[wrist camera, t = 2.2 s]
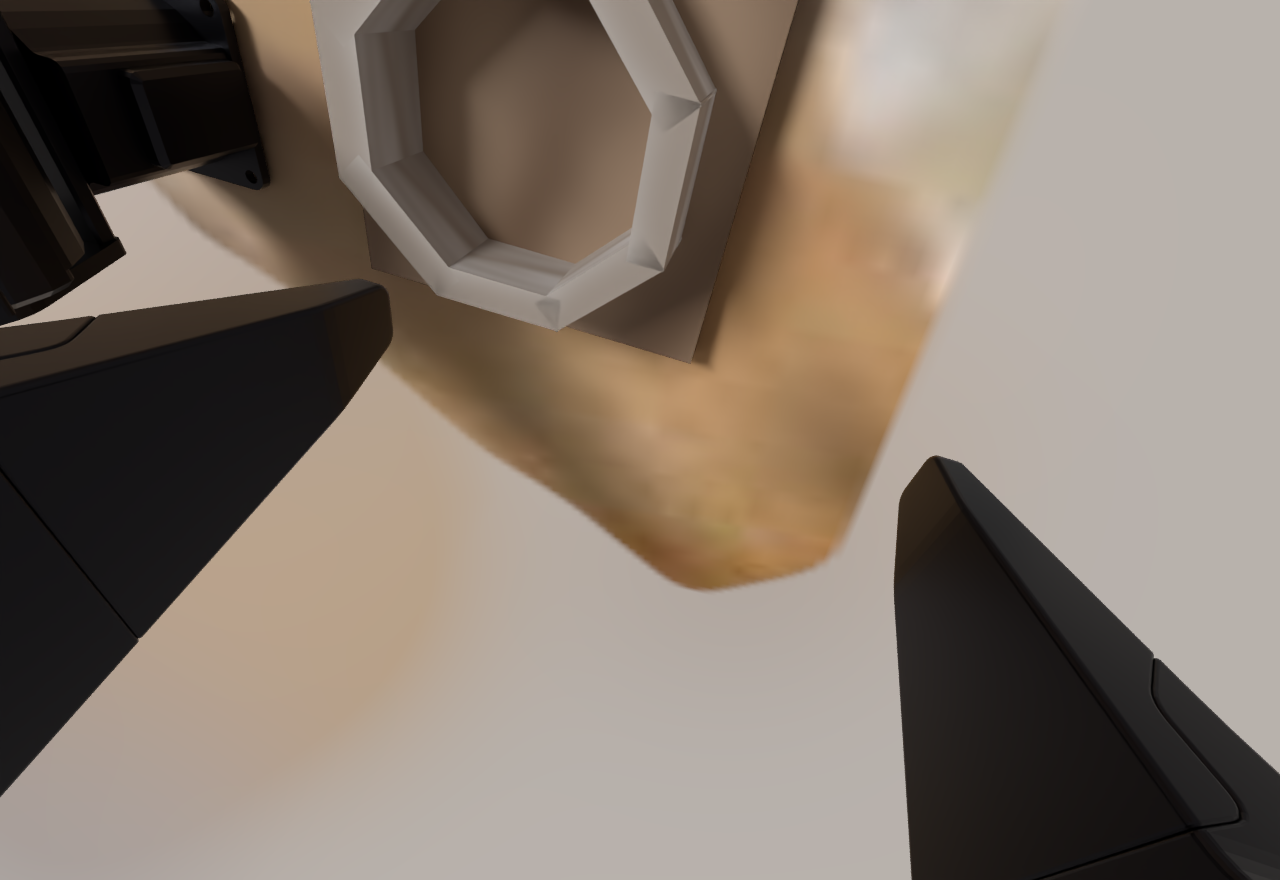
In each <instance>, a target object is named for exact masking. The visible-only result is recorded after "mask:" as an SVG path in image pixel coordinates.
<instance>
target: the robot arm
mask: <svg viewBox="0 0 1280 880" xmlns="http://www.w3.org/2000/svg"><path fill="white" fill-rule="evenodd" d="M209 2H210V4H211V5H212V7H213V10H214V13H213V12H212V10H211V8H210V5H209ZM186 170H189V171H193V172H196V173H199V174H203V175H206V176H210V177H213V178H216V179H220V180H223V181H227V182H230V183H233V184H237V185H240V186H244V187H247V188H250V189H254V190H260V189H263V188H266V187H268V186H269V184H270V176H269V172H268V168H267V164H266V160H265V156H264V152H263V147H262V143H261V139H260V135H259V131H258V127H257V123H256V119H255V115H254V110H253V106H252V102H251V98H250V94H249V90H248V86H247V82H246V78H245V73H244V69H243V65H242V61H241V57H240V53H239V49H238V45H237V41H236V36H235V32H234V28H233V24H232V20H231V16H230V12H229V9H228V6H227V4H226V2H225V1H224V0H0V326H1V325H4V324H8V323H11V322H14V321H18V320H20V319H23V318H25V317H28V316H30V315H33V314H35V313H37V312H39V311H41V310H43V309H44V308H46V307H48V306H50V305H51V304H53V303H54V302H55V301H57V300H58V299H60V298H61V297H63V296H64V295H66V294H67V293H69V292H70V291H72V290H73V289H75V288H76V287H78V286H79V285H81V284H82V283H84V282H85V281H87V280H88V279H90V278H91V277H93V276H94V275H96V274H97V273H99V272H100V271H101V270H103V269H105V268H106V267H108V266H109V265H111V264H112V263H114V262H115V261H117V260H118V259H119V258H121V257H123V256H124V255H126V251H125V249H124V247H123V245H122V243H121V241H120V239H119V238H118V237H115V236H114V234H113V232H112V230H111V228H110V226H109V224H108V222H107V220H106V218H105V217H104V214H103V212H102V210H101V209H100V206H99V204H98V202H97V200H96V198H95V197H94V195H98V194H101V193H105V192H109V191H112V190H116V189H119V188H123V187H127V186H131V185H134V184H138V183H142V182H146V181H149V180H153V179H157V178H160V177H164V176H168V175H171V174H175V173H179V172H182V171H186ZM253 173H254V174H255V175H256V177H257V178H256V177H255V176H254V174H253ZM392 337H393V325H392V317H391V308H390V300H389V294H388V292H387V290H386V288H385V287H384V286H382V285H380V284H377V283H373V282H370V281H367V280H363V279H353V280H346V281H339V282H332V283H325V284H318V285H310V286H303V287H296V288H289V289H282V290H274V291H268V292H260V293H254V294H246V295H239V296H231V297H224V298H217V299H210V300H203V301H196V302H188V303H182V304H174V305H168V306H160V307H153V308H146V309H138V310H132V311H124V312H117V313H110V314H102V315H99V316H98V317H96V318H95V317H93V316H87V317H80V318H73V319H66V320H59V321H51V322H43V323H35V324H28V325H20V326H12V327H4V328H0V797H1V796H2V795H3V794H4V792H5V791H6V790H7V789H8V788H9V787H10V786H11V785H12V783H13V782H14V781H15V780H16V779H17V778H18V777H19V776H20V774H21V773H22V772H23V771H24V770H25V769H26V768H27V767H28V765H29V764H30V763H31V762H32V761H33V760H34V759H35V757H36V756H37V755H38V754H39V753H40V752H41V751H42V750H43V749H44V747H45V746H46V745H47V744H48V743H49V741H51V740H52V738H53V737H54V736H55V735H56V734H57V733H58V732H59V730H60V729H61V728H62V727H63V726H64V725H65V724H66V723H67V722H68V720H69V719H70V718H71V717H72V716H73V715H74V714H75V712H76V711H77V710H78V709H79V708H80V707H81V706H82V705H83V703H84V702H85V701H86V700H87V699H88V698H89V697H90V696H91V694H92V693H93V692H94V691H95V690H96V689H97V688H98V687H99V685H100V684H101V683H102V682H103V681H104V680H105V679H106V678H107V676H108V675H109V674H110V673H111V672H112V671H113V670H114V669H115V667H116V666H117V665H118V664H119V663H120V662H121V661H122V660H123V658H124V657H125V656H126V655H127V654H128V653H129V652H130V651H131V649H132V648H133V647H134V646H135V645H136V644H137V643H138V638H141V637H143V635H144V634H145V633H146V632H147V631H148V630H149V628H151V626H152V625H153V624H154V623H155V622H156V621H157V620H158V619H159V617H160V616H161V615H162V614H163V613H164V612H165V611H166V609H167V608H168V607H169V606H170V605H171V604H172V603H173V602H174V601H175V599H176V598H177V597H178V596H179V595H180V594H181V593H182V592H183V590H184V589H185V588H186V587H187V586H188V585H189V584H190V583H191V581H192V580H193V579H194V578H195V577H196V576H197V575H198V574H199V572H200V571H201V570H202V569H203V568H204V567H205V566H206V565H207V563H208V562H209V561H210V560H211V559H212V558H213V557H214V555H215V554H216V553H217V552H218V551H219V550H220V549H221V548H222V547H223V545H224V544H225V543H226V542H227V541H228V540H229V539H230V538H231V537H232V535H233V534H234V533H235V532H236V531H237V530H238V529H239V527H240V526H241V525H242V524H243V523H244V522H245V521H246V520H247V518H248V517H249V516H250V515H251V514H252V513H253V512H254V511H255V509H256V508H257V507H258V506H259V505H260V504H261V503H262V502H263V501H264V499H265V498H266V497H267V496H268V495H269V494H270V493H271V492H272V490H273V489H274V488H275V487H276V486H277V485H278V484H279V483H280V481H281V480H282V479H283V478H284V477H285V476H286V475H287V474H288V472H289V471H290V470H291V469H292V468H293V467H294V466H295V465H296V463H297V462H298V461H299V460H300V459H301V458H302V457H303V456H304V454H305V453H306V452H307V451H308V450H309V449H310V448H311V447H312V445H313V444H314V443H315V442H316V441H317V440H318V439H319V438H320V436H321V435H322V434H323V433H324V432H325V431H326V430H327V428H328V427H329V426H330V425H331V424H332V423H333V422H334V421H335V420H336V418H337V417H338V416H339V415H340V414H341V412H342V411H343V410H344V409H345V407H346V406H347V405H348V403H349V402H350V401H351V399H352V398H353V397H354V395H355V394H356V392H357V391H358V389H359V388H360V387H361V385H362V384H363V382H364V381H365V379H366V378H367V377H368V375H369V374H370V372H371V370H372V369H373V368H374V366H375V365H376V364H377V362H378V361H379V359H380V358H381V356H382V355H383V354H384V352H385V351H386V349H387V348H388V346H389V345H390V343H391V340H392ZM894 604H895V620H896V636H897V653H898V669H899V685H900V699H901V700H900V701H901V714H902V715H901V717H902V732H903V748H904V765H905V781H906V797H907V812H908V828H909V845H910V861H911V876H912V880H1280V774H1279V773H1278V772H1277V771H1276V770H1275V769H1274V768H1273V767H1272V766H1270V765H1269V764H1268V763H1267V762H1266V761H1265V760H1264V759H1263V758H1262V757H1261V756H1260V755H1259V754H1258V753H1256V752H1255V751H1254V750H1253V749H1252V748H1251V747H1250V746H1249V745H1248V744H1246V742H1244V741H1243V740H1242V739H1241V738H1240V737H1239V736H1238V735H1237V734H1236V733H1235V732H1234V731H1233V730H1231V729H1230V728H1229V727H1228V726H1227V725H1226V724H1225V723H1224V722H1223V721H1222V720H1221V719H1220V718H1219V717H1218V716H1217V715H1216V714H1215V713H1214V712H1213V711H1212V710H1211V709H1210V708H1209V707H1208V706H1207V705H1206V704H1205V703H1203V701H1201V700H1200V699H1199V698H1198V697H1197V696H1196V695H1195V694H1194V693H1193V692H1192V691H1191V690H1190V689H1189V688H1188V687H1187V686H1186V685H1185V684H1184V683H1183V682H1182V681H1181V680H1180V679H1179V678H1178V677H1177V676H1176V675H1175V674H1174V673H1173V672H1172V671H1171V670H1170V669H1169V668H1168V667H1167V666H1166V665H1165V664H1164V663H1163V662H1162V661H1161V660H1159V659H1157V658H1153V657H1154V655H1153V653H1152V652H1151V650H1150V649H1149V648H1148V647H1146V646H1145V645H1144V644H1143V643H1142V642H1141V641H1140V640H1139V639H1138V638H1137V637H1136V636H1135V635H1134V634H1133V633H1132V632H1131V631H1130V630H1129V629H1128V628H1127V627H1126V626H1125V625H1124V624H1123V623H1122V622H1121V621H1120V620H1119V619H1118V618H1117V617H1116V616H1115V615H1114V614H1113V613H1112V612H1111V611H1110V610H1109V609H1108V608H1107V607H1106V606H1105V605H1104V604H1103V603H1102V602H1101V601H1100V600H1099V599H1098V598H1097V597H1096V596H1095V595H1094V594H1093V593H1092V592H1091V591H1090V590H1089V589H1088V588H1087V587H1086V586H1085V585H1084V584H1083V583H1082V582H1081V581H1080V580H1079V579H1078V578H1077V577H1076V576H1075V575H1074V574H1073V573H1072V572H1071V571H1070V570H1069V569H1068V568H1067V567H1066V566H1065V565H1064V564H1063V563H1062V562H1061V561H1060V560H1058V558H1057V557H1056V556H1055V555H1054V554H1053V553H1052V552H1051V551H1050V550H1049V549H1048V548H1047V547H1046V546H1045V545H1043V543H1042V542H1041V541H1039V539H1038V538H1036V536H1035V535H1034V534H1033V533H1031V532H1030V531H1029V530H1028V529H1027V528H1026V527H1025V526H1024V525H1023V524H1022V523H1021V522H1020V521H1019V520H1018V519H1017V518H1016V517H1015V516H1014V515H1013V514H1012V513H1011V512H1010V511H1009V510H1008V509H1007V508H1006V507H1005V506H1004V505H1003V504H1002V503H1001V502H1000V501H999V500H998V499H997V498H996V497H995V496H994V495H993V494H992V493H991V492H990V491H989V490H988V489H987V488H986V487H985V486H984V485H983V484H982V483H981V482H980V481H979V480H978V479H977V478H976V477H975V476H974V475H973V474H972V473H971V472H970V471H969V470H968V469H967V468H966V467H965V466H964V465H963V464H962V463H959V462H957V461H954V460H951V459H947V458H944V457H941V456H932V457H930V458H929V459H927V461H926V462H925V463H924V464H923V466H922V467H921V468H920V469H919V471H918V472H917V474H916V475H915V476H914V477H913V479H912V480H911V482H910V483H909V484H908V486H907V487H906V488H905V490H904V491H903V493H902V495H901V498H900V502H899V512H898V525H897V540H896V556H895V571H894Z"/></svg>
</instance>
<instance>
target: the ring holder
mask: <svg viewBox="0 0 1280 880" xmlns="http://www.w3.org/2000/svg"><path fill="white" fill-rule="evenodd" d="M310 3H311V9H312V15H313V21H314V27H315V33H316V39H317V46H318V52H319V58H320V64H321V70H322V76H323V82H324V88H325V94H326V100H327V106H328V112H329V118H330V124H331V130H332V137H333V143H334V149H335V155H336V161H337V167H338V173H339V176H338V177H339V179H341V180H342V181H343V183H344V184H345V185H346V186H347V187H348V189H349V190H350V191H351V192H352V193H353V195H354V196H355V197H356V198H357V200H358V201H359V202H360V203H361V204H362V206H363V211H364V218H365V225H366V232H367V239H368V246H369V253H370V260H371V267H372V269H375V270H379V271H382V272H386V273H389V274H392V275H396V276H399V277H402V278H406V279H409V280H412V281H416V282H419V283H422V284H426V285H429V286H430V287H431V289H432V290H433V291H434V292H435V294H436V295H437V296H441V297H444V298H447V299H451V300H454V301H457V302H461V303H464V304H467V305H471V306H474V307H477V308H481V309H484V310H487V311H491V312H494V313H497V314H501V315H504V316H507V317H511V318H514V319H517V320H521V321H524V322H527V323H531V324H534V325H537V326H541V327H544V328H547V329H551V330H554V331H557V332H558V331H559V330H560V329H562V328H564V327H565V326H566V327H569V328H573V329H576V330H579V331H583V332H586V333H589V334H593V335H596V336H599V337H603V338H606V339H609V340H613V341H616V342H619V343H623V344H626V345H629V346H633V347H636V348H639V349H643V350H646V351H649V352H653V353H656V354H659V355H663V356H666V357H669V358H673V359H676V360H680V361H683V362H686V363H690V364H691V361H692V358H693V355H694V352H695V349H696V345H697V342H698V338H699V335H700V332H701V328H702V325H703V322H704V318H705V315H706V311H707V308H708V305H709V301H710V298H711V295H712V291H713V288H714V284H715V281H716V278H717V274H718V271H719V267H720V264H721V261H722V257H723V254H724V251H725V247H726V244H727V240H728V237H729V234H730V230H731V227H732V224H733V220H734V217H735V213H736V210H737V207H738V203H739V200H740V197H741V193H742V190H743V186H744V183H745V180H746V176H747V173H748V169H749V166H750V163H751V159H752V156H753V153H754V149H755V146H756V142H757V139H758V136H759V132H760V129H761V126H762V122H763V119H764V115H765V112H766V109H767V105H768V102H769V98H770V95H771V92H772V88H773V85H774V82H775V78H776V75H777V71H778V68H779V65H780V61H781V58H782V55H783V51H784V48H785V44H786V41H787V38H788V34H789V31H790V28H791V24H792V21H793V17H794V14H795V11H796V7H797V4H798V0H310Z"/></svg>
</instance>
